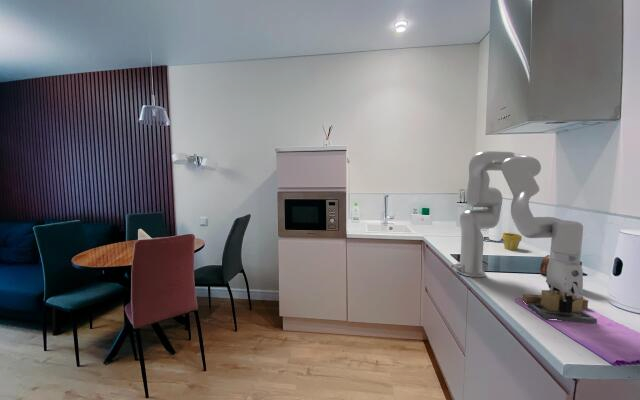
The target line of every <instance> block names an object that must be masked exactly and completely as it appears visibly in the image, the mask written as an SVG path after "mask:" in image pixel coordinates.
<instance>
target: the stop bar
mask: <svg viewBox="0 0 640 400" xmlns="http://www.w3.org/2000/svg"><path fill="white" fill-rule="evenodd" d="M569 292H570V291H569ZM540 293H541V294H540V295H541V304H540V306H541V307H542V308H544V309H545V310H546V311H548V312H558V313H562V312H560V303H561V300H562V291H553V290H550V289H549V290H548V289H541V292H540ZM566 295H567V297H568V296H569V294H566ZM580 297H581V299H578V300H575V301H574V302H573V303H572V314H582V311H583V308H582V305H583V298H584V296H582V294H580Z"/></svg>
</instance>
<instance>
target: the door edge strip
mask: <svg viewBox="0 0 640 400" xmlns="http://www.w3.org/2000/svg"><path fill="white" fill-rule="evenodd" d="M521 301H524V302H525V303H526V304H528V303H537V304H541V294H528V293H523V294H522V300H521ZM524 302H523V303H524ZM525 303H524V304H525ZM526 304H525V305H526ZM588 304H589V300H587V299H586V298H584V297H583V305H582V309H588V306H589V305H588Z"/></svg>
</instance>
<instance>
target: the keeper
mask: <svg viewBox="0 0 640 400" xmlns="http://www.w3.org/2000/svg"><path fill="white" fill-rule="evenodd" d="M527 308H529V309H530V308H531V309H532V310H531V309H530V310H531V311H532V312H534V311H535V312H536V313H535V312H534V313H535V314H537V315H538V316H539V317H540V318H542V319H543V320H545V321H549V320H548V319H557V320H562V321H561V322H566V321H568V322H569V323H580V324H582V323H583V324H584V323H585V324H594V323H598V318H596V317H594V316H593V315H591V314H589V313H588V312H586V311H584V310H582V314H572V313H558V312H548V311H546V310H545V309H544V308H542V307H541V306H540V304H537V303H528V305H527ZM568 322H567V323H568Z"/></svg>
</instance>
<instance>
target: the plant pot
mask: <svg viewBox="0 0 640 400" xmlns="http://www.w3.org/2000/svg"><path fill="white" fill-rule="evenodd" d="M522 236H523V235H522V234H520V233H519V234H518V233H513V232H512V233H511V232H503V233H501V238H502V240H503V247H504V249H505V250H508V251H517V250H518V247H519V244H520V242H521V241H522V238H523V237H522Z"/></svg>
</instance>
